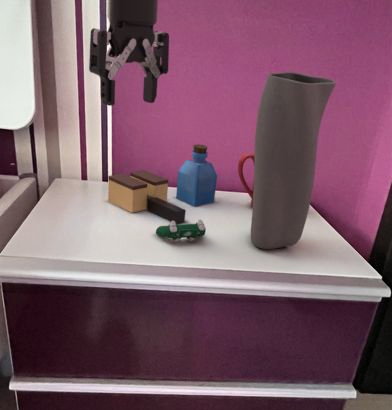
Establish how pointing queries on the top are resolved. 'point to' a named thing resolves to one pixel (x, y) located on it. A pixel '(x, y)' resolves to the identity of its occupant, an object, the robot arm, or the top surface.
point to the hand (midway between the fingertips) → (129, 103)
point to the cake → (136, 189)
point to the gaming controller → (182, 231)
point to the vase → (286, 156)
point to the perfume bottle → (197, 179)
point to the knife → (165, 209)
